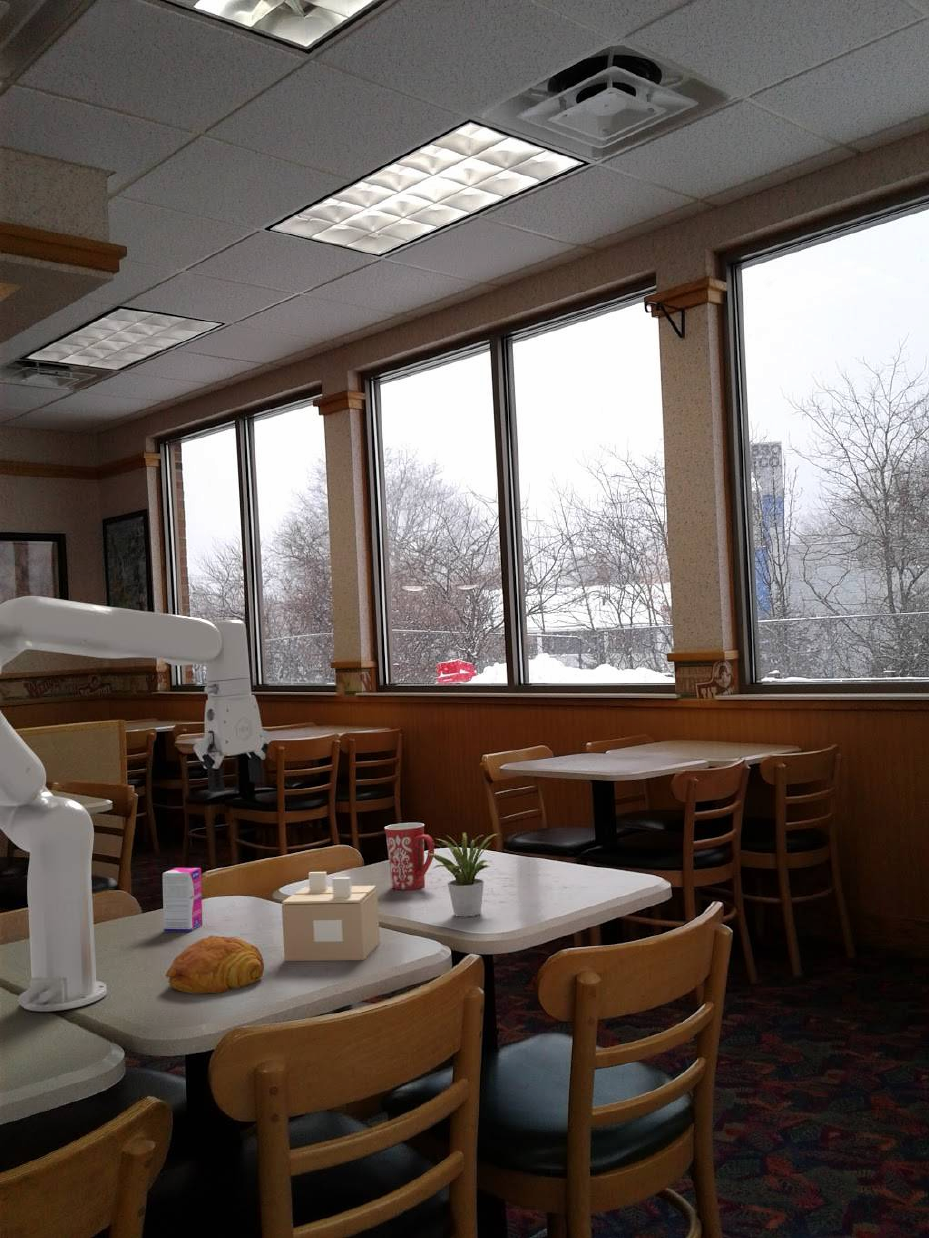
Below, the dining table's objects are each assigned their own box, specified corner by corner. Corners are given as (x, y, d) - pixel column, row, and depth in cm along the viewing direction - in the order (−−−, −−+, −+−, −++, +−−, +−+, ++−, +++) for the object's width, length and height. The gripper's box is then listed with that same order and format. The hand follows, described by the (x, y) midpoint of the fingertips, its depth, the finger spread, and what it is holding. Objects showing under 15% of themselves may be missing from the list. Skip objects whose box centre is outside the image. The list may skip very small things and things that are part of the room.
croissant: (222, 978, 187) (217, 930, 188) (281, 977, 177) (275, 927, 178) (149, 999, 176) (144, 948, 177) (208, 1000, 166) (202, 946, 167)
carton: (363, 960, 184) (360, 903, 185) (284, 960, 187) (281, 904, 187) (379, 942, 195) (376, 889, 196) (304, 943, 198) (302, 890, 198)
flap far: (368, 894, 191) (367, 873, 191) (294, 895, 193) (293, 875, 193) (376, 887, 196) (374, 867, 196) (303, 889, 198) (302, 869, 198)
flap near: (292, 897, 192) (291, 876, 192) (367, 895, 190) (366, 874, 190) (282, 904, 187) (281, 882, 187) (359, 902, 185) (357, 881, 185)
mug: (379, 888, 242) (375, 827, 242) (408, 880, 248) (405, 821, 249) (418, 894, 233) (414, 831, 234) (448, 886, 240) (444, 824, 240)
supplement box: (191, 932, 212) (188, 872, 212) (163, 932, 213) (160, 873, 213) (204, 924, 217) (201, 866, 218) (176, 924, 218) (173, 867, 219)
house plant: (482, 900, 224) (477, 820, 224) (521, 911, 212) (516, 827, 213) (422, 912, 216) (417, 830, 217) (459, 925, 205) (454, 837, 205)
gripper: (206, 693, 184) (214, 795, 183) (279, 684, 198) (286, 778, 198) (176, 695, 188) (184, 794, 188) (249, 686, 202) (257, 778, 202)
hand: (237, 786), depth 193 cm, fingers open, 9 cm apart
